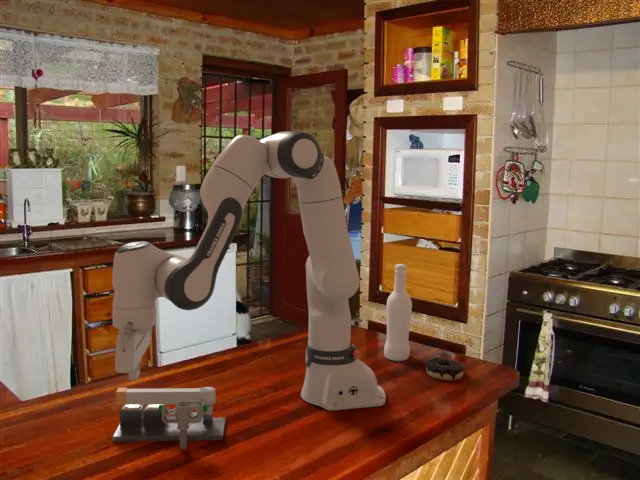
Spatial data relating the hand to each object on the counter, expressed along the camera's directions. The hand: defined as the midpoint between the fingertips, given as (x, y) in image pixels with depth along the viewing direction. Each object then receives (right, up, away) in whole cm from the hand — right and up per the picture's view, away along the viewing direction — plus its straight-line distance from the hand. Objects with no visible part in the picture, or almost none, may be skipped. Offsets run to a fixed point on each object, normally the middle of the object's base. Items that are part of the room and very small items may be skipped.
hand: (134, 377), depth 137 cm
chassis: (+7, -14, +6) cm, 17 cm away
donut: (+78, -10, +47) cm, 92 cm away
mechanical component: (+11, -15, -1) cm, 19 cm away
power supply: (+2, -12, +8) cm, 15 cm away
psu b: (-3, -12, +8) cm, 15 cm away
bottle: (+65, -7, +61) cm, 89 cm away
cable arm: (+5, -8, +8) cm, 12 cm away
